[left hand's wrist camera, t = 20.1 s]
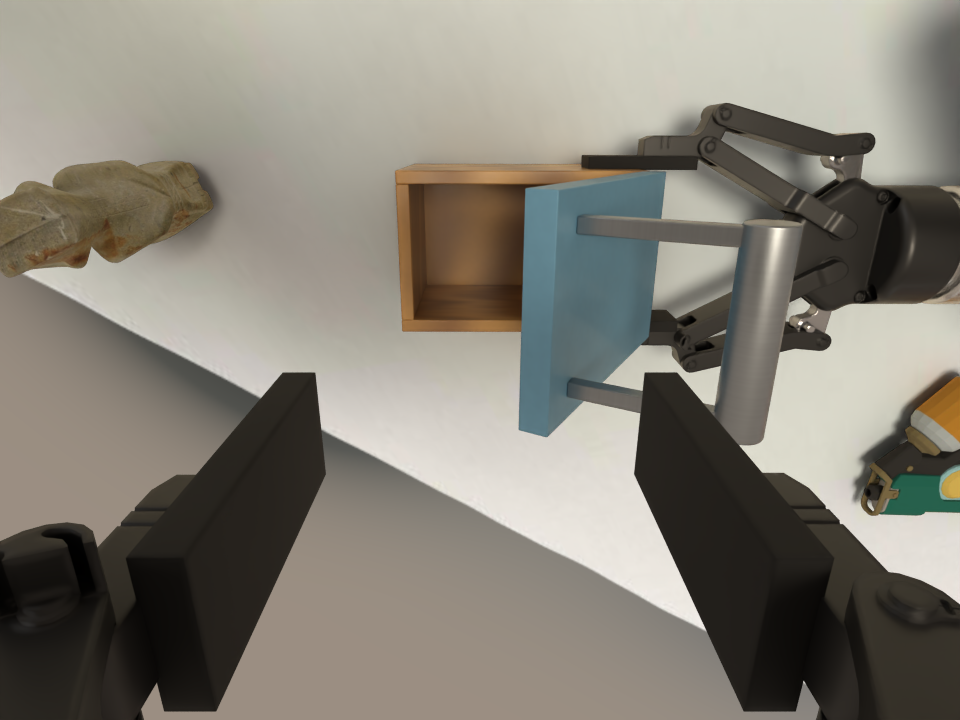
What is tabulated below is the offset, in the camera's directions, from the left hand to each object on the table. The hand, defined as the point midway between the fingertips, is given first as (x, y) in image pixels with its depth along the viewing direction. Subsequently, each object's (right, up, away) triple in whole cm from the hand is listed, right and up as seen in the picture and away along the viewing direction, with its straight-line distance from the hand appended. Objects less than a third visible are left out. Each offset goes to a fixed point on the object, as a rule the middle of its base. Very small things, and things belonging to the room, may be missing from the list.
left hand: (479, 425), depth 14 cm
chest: (+2, +11, +30) cm, 33 cm away
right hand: (+6, +9, +24) cm, 27 cm away
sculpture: (-23, +13, +30) cm, 40 cm away
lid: (+5, +5, +14) cm, 16 cm away
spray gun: (+42, -6, +37) cm, 56 cm away
